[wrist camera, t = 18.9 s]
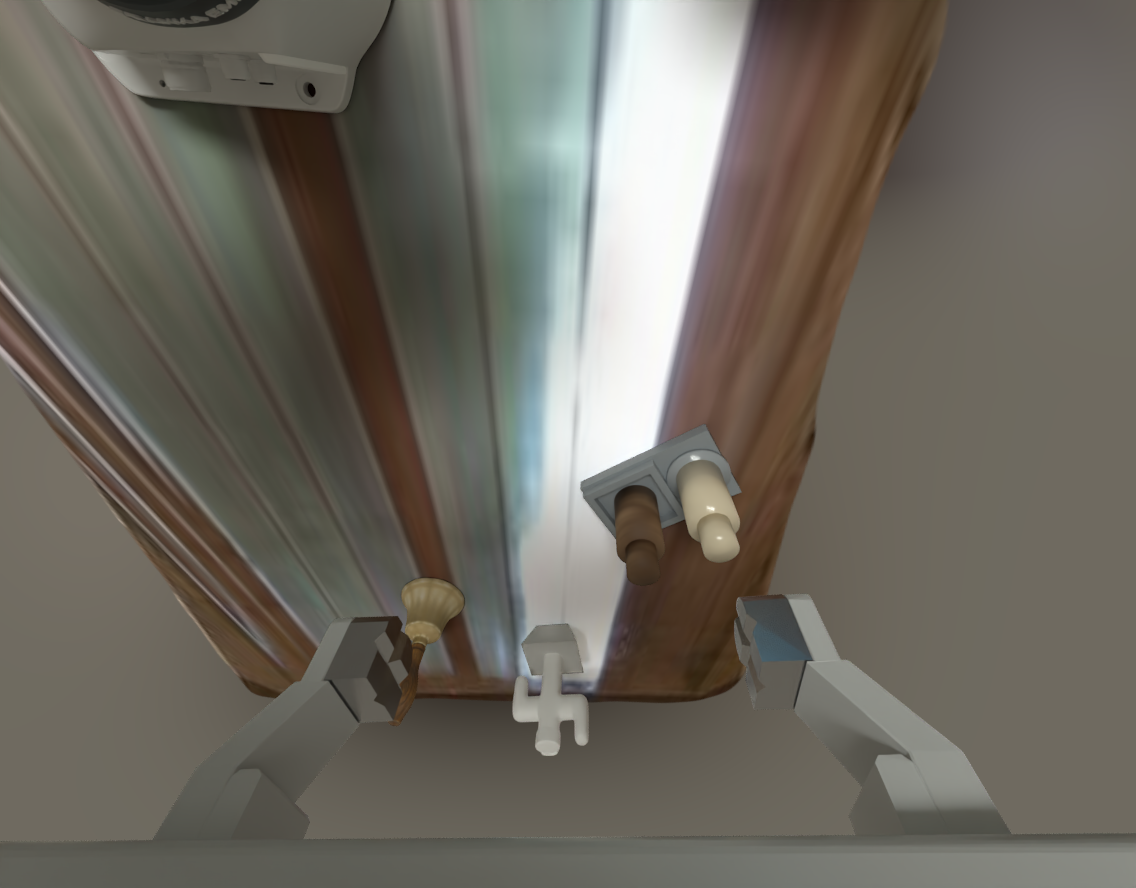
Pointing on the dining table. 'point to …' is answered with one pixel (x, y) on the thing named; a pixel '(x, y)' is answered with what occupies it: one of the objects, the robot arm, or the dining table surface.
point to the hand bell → (424, 627)
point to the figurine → (551, 687)
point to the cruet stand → (678, 490)
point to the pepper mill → (639, 533)
